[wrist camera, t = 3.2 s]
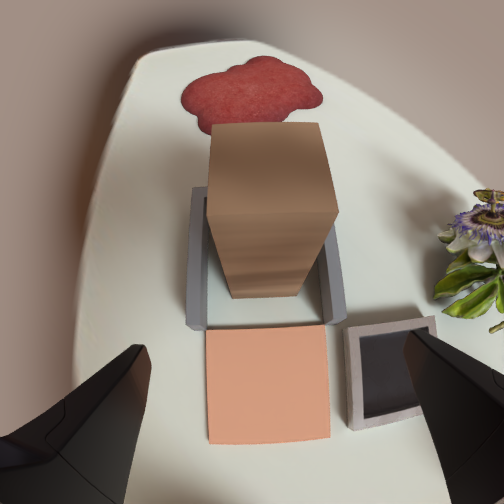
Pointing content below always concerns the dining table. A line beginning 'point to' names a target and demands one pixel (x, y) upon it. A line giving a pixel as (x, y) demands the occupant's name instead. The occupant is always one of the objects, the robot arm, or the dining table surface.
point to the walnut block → (269, 204)
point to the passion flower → (476, 258)
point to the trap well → (380, 373)
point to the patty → (250, 93)
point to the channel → (199, 270)
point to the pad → (267, 385)
